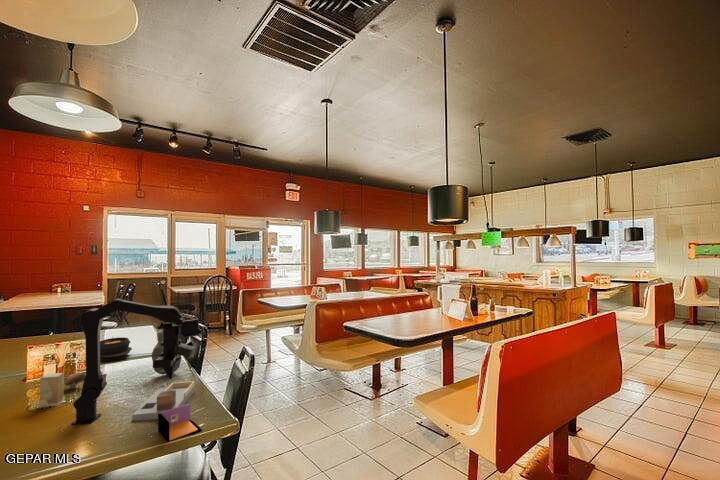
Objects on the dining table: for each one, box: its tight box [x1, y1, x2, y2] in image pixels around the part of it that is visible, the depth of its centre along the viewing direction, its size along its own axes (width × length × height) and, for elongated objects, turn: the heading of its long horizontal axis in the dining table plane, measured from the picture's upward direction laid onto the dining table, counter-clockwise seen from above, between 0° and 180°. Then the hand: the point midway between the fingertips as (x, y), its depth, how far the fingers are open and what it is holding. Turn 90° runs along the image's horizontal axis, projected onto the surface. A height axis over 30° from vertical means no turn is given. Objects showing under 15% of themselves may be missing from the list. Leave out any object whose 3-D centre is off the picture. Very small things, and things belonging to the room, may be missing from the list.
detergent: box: [151, 329, 182, 375], centre depth 172 cm, size 13×7×25 cm, turn 124°
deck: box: [131, 380, 196, 421], centre depth 137 cm, size 24×14×4 cm, turn 9°
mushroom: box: [64, 372, 86, 390], centre depth 155 cm, size 8×8×6 cm
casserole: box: [100, 337, 133, 359], centre depth 204 cm, size 25×19×8 cm
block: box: [157, 390, 176, 410], centre depth 130 cm, size 5×5×5 cm
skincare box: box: [38, 372, 65, 408], centre depth 138 cm, size 6×4×12 cm
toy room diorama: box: [157, 403, 203, 442], centre depth 116 cm, size 12×12×7 cm
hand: (170, 378), depth 136 cm, fingers closed
